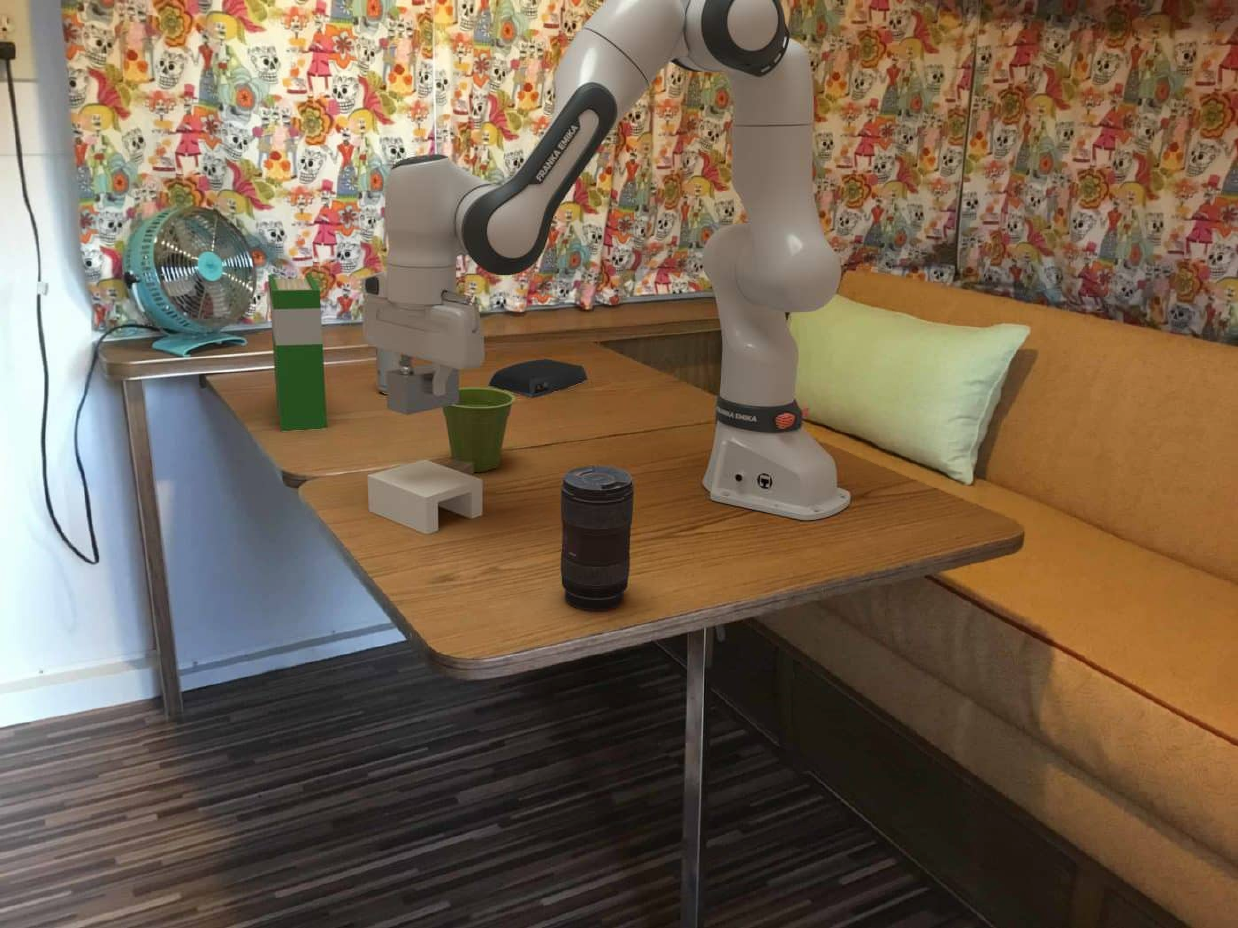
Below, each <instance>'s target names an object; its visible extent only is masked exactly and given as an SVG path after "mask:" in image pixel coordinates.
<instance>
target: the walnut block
mask: <svg viewBox="0 0 1238 928" xmlns="http://www.w3.org/2000/svg"><path fill="white" fill-rule="evenodd" d="M440 465H442V466H445V467H448V468H450V469H453V470H456V471H459V472H462V473H465V474H468V475H471V476H473V477H474V472H473V463H468V462H462V461H456V460H452V459H448V460H446V461H444V462H442V463H441V464H440Z"/></svg>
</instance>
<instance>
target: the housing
mask: <svg viewBox="0 0 1238 928" xmlns="http://www.w3.org/2000/svg"><path fill="white" fill-rule="evenodd" d="M435 372H436V371H434V370H433V363H432V362H429V363H426V364H425V363H424V364H421V365H417V366H415V365H413V364H412V365H401V366H399V369H398V370H393V371H387V372H386V385H387V395H386V409H387V410H389V411H393V412H395V413H399V414H401V415H405V416H409V415H413V414H417V413H421V412H423V413H424V412H427V411H431V410H435V409H436V410H437V409H439V408H442V407H445V406H449V405H453V404H458V403H459V388H460V370H459V369H455V368H452V371H451V373H450V375H449V377H448V379H447V381H446V382H445V394H444V395H441V396H435V395H431V394H429V393H428V389H429V388H428V381H432V380H433V378H434V375H435Z"/></svg>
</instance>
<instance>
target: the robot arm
mask: <svg viewBox="0 0 1238 928" xmlns="http://www.w3.org/2000/svg"><path fill="white" fill-rule="evenodd" d="M790 36H791V35H790V30H789V28H788V25H787V24H786V17H785V12H784V9H783V6H782V3H781V0H604V2H603V3H602V4H601V5H600V6H598V8H597V9H596V11H594V12H593V13H592V15H591V16H590V17H589V19H588V20H587V21H586V22H585V24H584V25H583V26H582V27H581V29H580V30H579V31H578V32H577V34H576V35H575V37H573V39H572V40H571V42H570V43H569V45H568V46H567V48H566V50H565V51H564V53H563V56H562V57H561V59H560V60H559V63H558V65H557V67H556V69H555V71H554V73H553V78H552V87H553V93H554V97H555V98H554V99H555V107H554V111H553V116H552V118H551V120H550V122H549V124H548V126H547V128H546V129H545V131H544V132H543V134H542V135H541V136H540V138H539V140H538V141H537V142H536V144H535V145H534V146H533V148H532V149H531V151H530V152H529V153H528V155H527V156H526V157H525V160H524V161H523V162H522V164H521V165H520V166H519V167H518V169H517V171H516V172H515V174H514V175H513V176H511V177H510V179H509V180H507V181H506V182H504V183H502V184H501V185H499V184H495V183H493V182H490V181H488V180H486V179H485V178H481V177H479V176H477V175H475V174H474V173H471V172H469V170H466V169H465V168H463V167H461V166H460V165H459V164H457V163H456V162H454V161H453V160H452V159H451V158H450V156H447V155H444V154H439V153H437V154H436V153H435V154H433V153H432V154H423V155H416V156H410V157H407V158H402V159H400V160H398V161H397V162H395V164H393V166H392V167H391V168H390V169H389V171H388V175H387V178H386V185H385V197H384V202H385V203H384V228H385V231H386V235H387V239H388V249H387V250H388V251H387V254H386V257H385V269H386V270H383V271H380V272H377V273H373V274H371V275H368V276H364V277H362V278H361V281H360V283H361V284H360V287H361V291H362V293H363V294H365V296H364V298H363V300H362V305H361V306H362V308H361V309H362V310H361V311H362V313H361V314H362V333H363V338H364V340H365V341H366V343H367V345H368V346H369V347H372V348H375V349H376V348H379V349H383V350H387V351H391V352H394V361H395V363H396V365H397V367H398V369H399V366H401V365H412V366H413V364H412V360H413V359H414V358H415V359H418V360H421V361H425V362H429V363H433V370H434V371H436V372H435V375H434V378H433V380H432V381H428V388H429V389H428V393H429V394H431V395H435V396H441V395H444V394H445V382H446V381H447V379H448V377H449V375H450V373H451V371H452V368H455V369H459V371H468V370H473V369H478V368H479V367H481V366H482V364H483V363H484V361H485V357H486V356H485V341H484V332H483V331H484V330H483V324H482V319H481V316H480V308H479V306H478V305H477V304H476V302H475V301H474V300H473V298H472V297H471V296H470V295H467V294H463V293H462V294H459V293H457V258H458V257H460V256H469V257H470V258H471V259H472V261H473V262H474V264H476V265H477V266H478V267H479V268H481V269H482V270H484V271H485V272H488V273H490V274H493V275H495V276H496V275H497V276H513V275H517V274H520V273H522V272H524V271H526V270H528V269H529V268H531V267H532V266H533V265H535V264H536V262H538V260H539V259H540V258H541V256H542V255H543V252H544V251H545V248H546V246H547V243H548V239H549V235H550V231H551V227H552V223H553V221H554V217H555V215H556V212H557V210H558V209H559V207H560V205H561V204H562V202H563V201H564V199H565V198H566V196H567V195H568V193H569V191H570V190H571V188H572V187H573V186H574V184H575V183H576V182H577V180H578V178H579V177H580V176H581V175H582V173H583V171H584V170H585V168H586V167H587V165H588V164H589V163H590V161H591V160H592V158H593V157H594V155H595V154H596V152H597V151H598V149H599V148H600V147H601V145H602V144H603V142H604V141H605V140H606V138H607V137H608V136H609V135H610V134H611V133H612V131H613V130H614V129H615V128H616V127H617V125H618V124H619V123H620V122H621V121H623V119H624V118H625V116H627V115H628V114H629V112H630V111H631V110H632V109H633V107H635V105H636V104H637V103H638V101H639V100H640V99H641V98H642V97H643V95H644V94H645V93H646V91H647V90H648V89H649V88H650V87H651V85H652V83H653V82H654V80H655V79H656V78H657V77H658V75H659V73H660V72H661V70H663V69H664V68H665V67H666V66H668V64H669V63H672V64H674V65H675V66H677V67H679V68H681V69H683V70H685V71H689V72H692V73H693V72H694V73H703V72H704V73H713V74H715V73H723V74H724V75H725V76H726V79H727V81H728V83H729V85H730V89H731V94H732V99H733V103H732V105H733V106H732V119H731V121H732V123H731V124H732V126H731V167H730V168H731V171H730V173H731V174H730V175H731V176H730V178H731V179H730V181H731V184H732V188H733V189H734V191H735V193H736V194H737V196H738V197H739V199H740V200H741V203H742V206H743V209H744V214H745V216H746V221H747V222H743V223H737V224H736V223H735V224H730V225H727V226H722V227H720V228H719V229H717V230H716V231H714V232H713V233H712V234H711V236H709V238H708V239H707V241H706V243H705V244H704V245H705V246H704V248H703V252H702V257H701V258H702V259H701V261H702V262H701V263H702V268H703V272H704V274H705V276H706V278H707V279H708V281H709V283H710V285H711V288H712V290H713V292H714V297H715V301H716V302H715V303H716V307H717V313H718V317H719V324H720V330H721V331H720V332H721V340H722V355H721V356H722V357H721V374H720V375H721V376H720V389H719V393H718V394H717V395H716V401H715V402H716V404H715V412H714V413H715V415H714V417H715V418H714V419H715V421H714V422H715V427H716V429H715V435H714V440H713V446H712V450H711V455H710V458H709V462H708V465H707V468H706V471H705V474H704V476H703V479H702V485H703V487H704V489H706V490H707V491H708V492H709V498H710V500H712V501H714V502H717V503H722V504H727V505H732V506H736V507H741V508H745V509H750V510H755V511H758V512H759V511H760V512H764V513H768V514H772V515H777V516H781V517H787V518H791V519H795V520H801V521H811V520H812V521H813V520H820V519H825V518H827V517H830V516H833V515H835V514H837V513H840V512H841V511H842V510H845V509H846V508H847V507H848V506H849V505H850V503H851V493H850V491H848V490H846V489H843V488H841V487H838V476H837V467H836V462H835V459H834V457H832V456H831V454H829V453H828V451H827V450H825V449H824V448H823V447H822V445H820V443H818V442H817V440H816V439H815V438H814V437H813V436H812V435H811V434H810V433H809V432H808V431H807V430H806V429H805V428H804V427H803V424H804V423H803V418H804V417H806V416H809V415H810V413H808V412H809V410H810V407H806V408H803V409H801V408H800V406H799V405H798V402H797V400H796V398H795V395H796V386H797V385H796V384H797V375H798V364H799V363H798V362H799V347H798V344H797V342H796V340H795V338H794V336H793V335H792V332H791V330H790V328H789V325H788V322H787V317H786V313H807V312H808V313H811V312H815V311H818V310H820V309H822V308H824V307H826V305H827V304H829V303H830V302H831V300H832V299H833V298H834V296H835V294H836V293H837V291H838V288H839V287H840V284H841V279H842V278H841V277H842V266H841V262H840V258H839V256H838V254H837V253H836V251H835V250H834V248H833V247H832V245H831V244H830V243H829V241H828V239H827V237H826V234H825V233H824V230H823V229H824V228H823V227H822V223H821V220H820V217H819V211H818V208H817V203H816V199H815V194H814V185H813V183H814V182H813V152H814V151H813V150H814V149H813V147H814V146H813V144H814V121H815V119H814V117H815V103H814V102H815V100H814V98H815V97H814V84H813V83H814V82H813V73H812V67H811V59H810V55H809V53H808V50H807V49H806V47H805V46H804V45H803V44H802V43H800V42H799V41H797V40H795V39H793V38H791V37H790Z"/></svg>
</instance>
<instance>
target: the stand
mask: <svg viewBox="0 0 1238 928" xmlns="http://www.w3.org/2000/svg"><path fill="white" fill-rule="evenodd" d="M367 492H368V493H367V496H368V511H369V512H371V513H373V514H376V515H378V516H380V517H382V518H385V519H388V520H390V521H392V522H395V523H397V524H400V525H401V526H404V527H406V528H410V529H412V530H414V531H417V532H419V533H421V534H424V535H430V534H433V533H435V532H438V531H439V507H440V508H442V509H444V510H448V511H450V512H453V513H456V514H458V515H460V516H463V517H466V518H469V519H476V518H479V517H481V516H483V479H482V478H478V477H476V476H474V475H473V476H471V475H468V474H465V473H462V472H459V471H456V470H453V469H450V468H448V467H445V466H442V465H441V464H438V463H436V462H433V461H430V460H427V459H421V460H418V461H414V462H411V463H407V464H403V465H400V466H396V467H393V468H390V469H386V470H381V471H377V472H375V473H372V474H368V475H367Z"/></svg>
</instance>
